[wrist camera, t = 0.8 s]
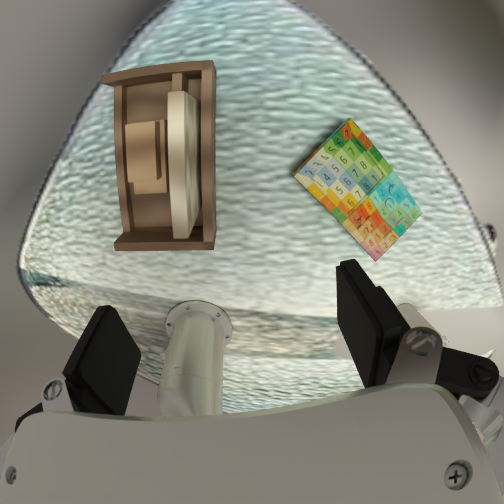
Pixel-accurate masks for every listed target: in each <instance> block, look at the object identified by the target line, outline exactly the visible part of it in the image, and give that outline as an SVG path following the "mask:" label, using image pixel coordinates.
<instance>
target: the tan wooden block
mask: <svg viewBox="0 0 504 504" xmlns="http://www.w3.org/2000/svg"><path fill="white" fill-rule="evenodd" d="M125 137H126V159H127V174H128V183H129V182H134V194H149V193H167V192H168V191H169V190H170V184H169V162H168V120H156V121H146V122H138V123H131V124H128V125H125Z"/></svg>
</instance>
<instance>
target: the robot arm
mask: <svg viewBox="0 0 504 504" xmlns="http://www.w3.org/2000/svg"><path fill="white" fill-rule="evenodd" d="M336 281H337V320H338V324H339V327H340V330H341V332H342V334H343V336H344V339H345V341H346V344H347V346H348V348H349V351H350V353H351V355H352V358H353V360H354V363H355V365H356V368H357V370H358V372H359V375H360V377H361V380H362V382H363V385H364V387H365V389H361V390H357V391H352V392H348V393H344V394H340V395H336V396H332V397H327V398H323V399H318V400H313V401H309V402H303V403H298V404H293V405H288V406H282V407H276V408H270V409H263V410H256V411H248V412H240V413H230V414H222V389H223V348H224V347H225V346H226V345H227V344H228V342H229V341H230V339H231V337H232V324H231V321H230V319H229V317H228V316H227V314H226V313H225V312H224V311H223V310H221V309H220V308H218V307H217V306H215V305H213V304H210V303H207V302H202V301H188V302H184V303H181V304H179V305H177V306H175V307H174V308H173V309H172V310H171V311H170V312H169V314H168V316H167V318H166V322H165V329H166V333H167V335H168V337H169V338H170V340H169V344H168V346H167V348H166V349H165V350H163V351H162V352H161V353H160V358H161V359H162V360H164V365H163V370H162V374H161V379H160V383H159V388H158V394H157V396H158V397H157V398H158V404H159V408H160V410H161V412H162V414H163V416H164V417H140V416H136V415H132V414H128V413H125V411H126V408H127V404H128V400H129V397H130V393H131V390H132V386H133V383H134V379H135V376H136V372H137V369H138V366H139V362H140V359H141V352H140V350H139V348H138V346H137V345H136V343H135V342H134V340H133V338H132V337H131V335H130V333H129V332H128V330H127V328H126V327H125V325H124V323H123V321H122V320H121V318H120V316H119V314H118V312H117V311H116V309H115V308H113V307H112V306H111V305H105V306H99V307H98V308H97V309H96V311H95V312H94V314H93V316H92V318H91V319H90V321H89V323H88V325H87V326H86V328H85V330H84V332H83V334H82V335H81V337H80V339H79V341H78V343H77V345H76V346H75V348H74V350H73V352H72V354H71V356H70V358H69V360H68V362H67V364H66V366H65V368H64V370H63V372H62V374H63V375H64V376H65V377H66V380H65V381H64V380H63V379H62V378H58V377H57V378H53V379H51V380H50V381H48V382H47V383H46V384H45V386H44V387H43V389H42V392H41V400H42V402H41V403H40V404H38V405H37V406H35V407H34V408H32V409H31V410H30V411H28V412H27V413H25V414H24V415H22V416H21V417H20V418H18V420H17V422H16V427H15V434H14V433H13V434H12V435H11V436H10V437H9V439H8V440H7V441H6V442H5V443H4V444H3V445H2V447H1V448H0V504H503V501H502V496H503V494H504V377H501V376H500V375H499V371H498V368H497V366H496V365H495V363H494V362H493V361H491V360H490V359H488V358H485V357H482V356H477V355H474V354H470V353H466V352H462V351H458V350H455V349H451V348H447V347H444V346H443V341H442V339H441V336H440V335H439V334H438V333H437V332H436V331H434V330H433V329H431V328H428V327H414V328H412V329H411V327H410V326H409V324H408V323H407V321H406V320H405V318H404V317H403V316H402V314H401V313H400V311H399V310H398V308H397V307H396V306H395V304H394V303H393V301H392V300H391V299H390V297H389V296H388V295H387V293H386V292H385V290H384V289H383V288H382V287H381V286H378V287H375V285H374V284H373V282H372V281H371V280H370V278H369V277H368V276H367V274H366V273H365V271H364V270H363V269H362V267H361V266H360V265H359V263H358V262H357V261H356V260H355V259H350V260H346V261H341V262H340V266H337V267H336ZM472 422H473V423H474V424H473V423H472ZM475 427H476V428H477V429H478V430H479V431H480V432H481V433H482V435H483V438H484V442H483V443H482V442H481V439H480V437H479V435H478V433H477V431H476V429H475Z"/></svg>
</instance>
